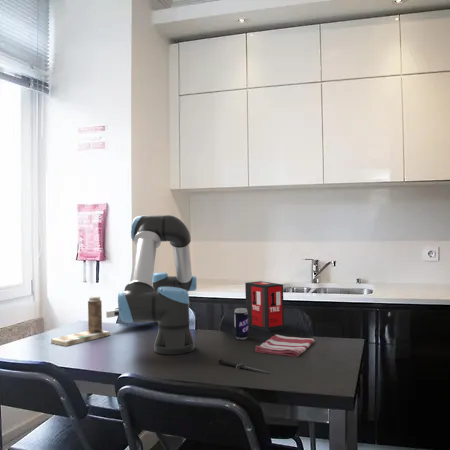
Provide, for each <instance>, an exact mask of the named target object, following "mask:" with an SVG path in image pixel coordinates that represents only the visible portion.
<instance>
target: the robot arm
mask: <svg viewBox="0 0 450 450" xmlns="http://www.w3.org/2000/svg"><path fill="white" fill-rule="evenodd" d="M130 237H131V239H132V242H134V244H135V251H134V255H133V257H134V258H133V262H132V263H133V264H132V268H131V275H130V280H129V283H128V284H126V285H125V287H124V290H121V291H119V293H118V294H117V305H118V306H117V307H116V308H115V309H112V310H107V311H106V318H108V319H110V318H114V317H119V318H120V320H121V321H122V322H123V323H131V324H134V323H158V330H157V335H156V337H155V341H154V345H153V347H154V348H153V350H154V352H155V353H157V354H160V355H182V354H187V353H190V352H193V351H194V350H195V340H194V337H193V334H192V332H191V329H190V296H189V295H190V294H189V292H194V291H196V290H197V282H198V281H197V280H198V279H197V276H195V275H193V274H192V263H191V252H190V243H191V234H190V230H189V228H188V227H187V225H186V224H185V223H184V222H183V221H182V219H180V218H178V217H176V216H174V215H169V214H167V215H145V214H143V215H138V216H136V217H135V218H133V221H132V223H131V230H130ZM162 242H169V244H170V245H171V247H172V251H173V252H172V253H173V259H174V267H175V275H176V276H175V275H174V276H173V275H172V276H171V275H170V276H169V275H168V273H167V272H155V273H154V271H155V270H154V269H155V262H156V254H157V249H158V248H159V247H160V245H161V243H162Z"/></svg>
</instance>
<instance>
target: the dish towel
mask: <svg viewBox="0 0 450 450" xmlns="http://www.w3.org/2000/svg"><path fill="white" fill-rule="evenodd" d="M315 342H316V340H315V338H309V337H298V336H297V337H296V336H285V335H280V334H274V335H273V336H271V337H270V338H268V339H267V340H265V341H264V342H262V343H261V344H260V345H256V346H255V347H254V348H255V350H254V352H255V353H262V354H270V355H279V356H280V355H281V356H289V357H295V358H297V357H299V356H300V355H301V354H302V353H304V352H305V351H306V350H307V349H308V348H309V347H310V346H312V345H313V344H314V343H315Z"/></svg>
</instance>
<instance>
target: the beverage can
mask: <svg viewBox="0 0 450 450" xmlns="http://www.w3.org/2000/svg"><path fill="white" fill-rule="evenodd" d="M233 313H234V314H233V315H234V316H233V318H234V319H233V321H234V322H233V323H234V324H233V325H234V338H236V339H237V340H246V339H247V338H248V337H249V326H248V311H247V309H246V307H245V308H244V307H237V308H235V309H234V312H233Z"/></svg>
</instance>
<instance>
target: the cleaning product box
mask: <svg viewBox="0 0 450 450" xmlns="http://www.w3.org/2000/svg"><path fill="white" fill-rule="evenodd" d="M244 283H245V291H244V292H245V308H246V309H247V311H248V325H249V326H248V328H249V327H250V328H252V329H257V330H260V331H264V332H266V333H267V332H268V333H270V332H274V331H275V332H276V331H282V330H285V321H284V320H285V317H284V312H285V311H284V310H285V309H284V283H283V284H282V283H276V282H269V281H262V280H259V281H251V282H250V281H249V282H244Z"/></svg>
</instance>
